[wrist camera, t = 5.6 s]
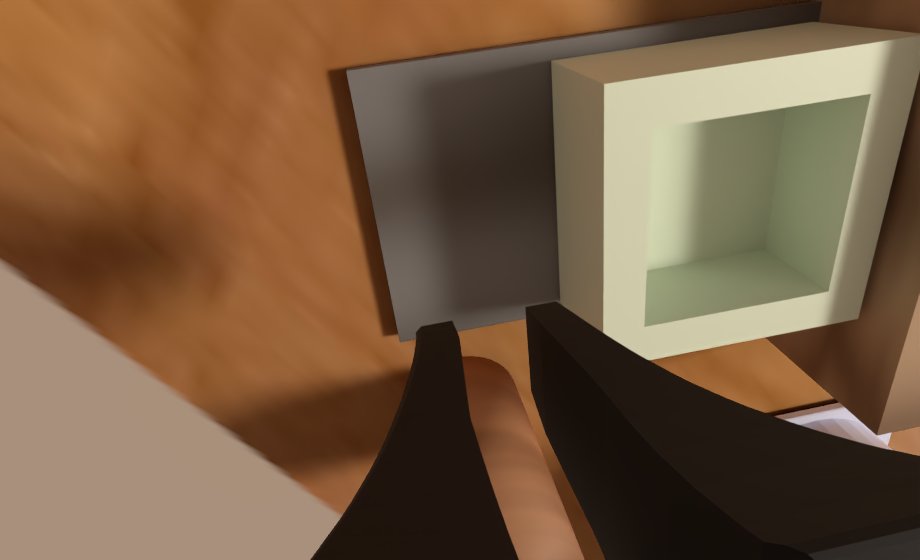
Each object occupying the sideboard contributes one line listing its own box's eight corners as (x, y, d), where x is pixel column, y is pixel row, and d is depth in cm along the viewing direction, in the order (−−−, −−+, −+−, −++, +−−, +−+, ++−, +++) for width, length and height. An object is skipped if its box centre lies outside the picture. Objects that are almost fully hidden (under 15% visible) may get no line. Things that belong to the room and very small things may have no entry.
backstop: (805, 322, 24) (935, 422, 18) (411, 400, 22) (430, 532, 17) (895, -127, 16) (1149, -173, 11) (322, -55, 15) (306, -69, 10)
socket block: (774, 261, 21) (857, 318, 18) (560, 301, 20) (603, 369, 17) (812, 21, 17) (929, 34, 14) (551, 60, 17) (604, 84, 13)
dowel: (519, 428, 24) (589, 618, 17) (421, 448, 23) (451, 651, 16) (512, 347, 22) (587, 524, 15) (405, 368, 21) (431, 558, 14)
